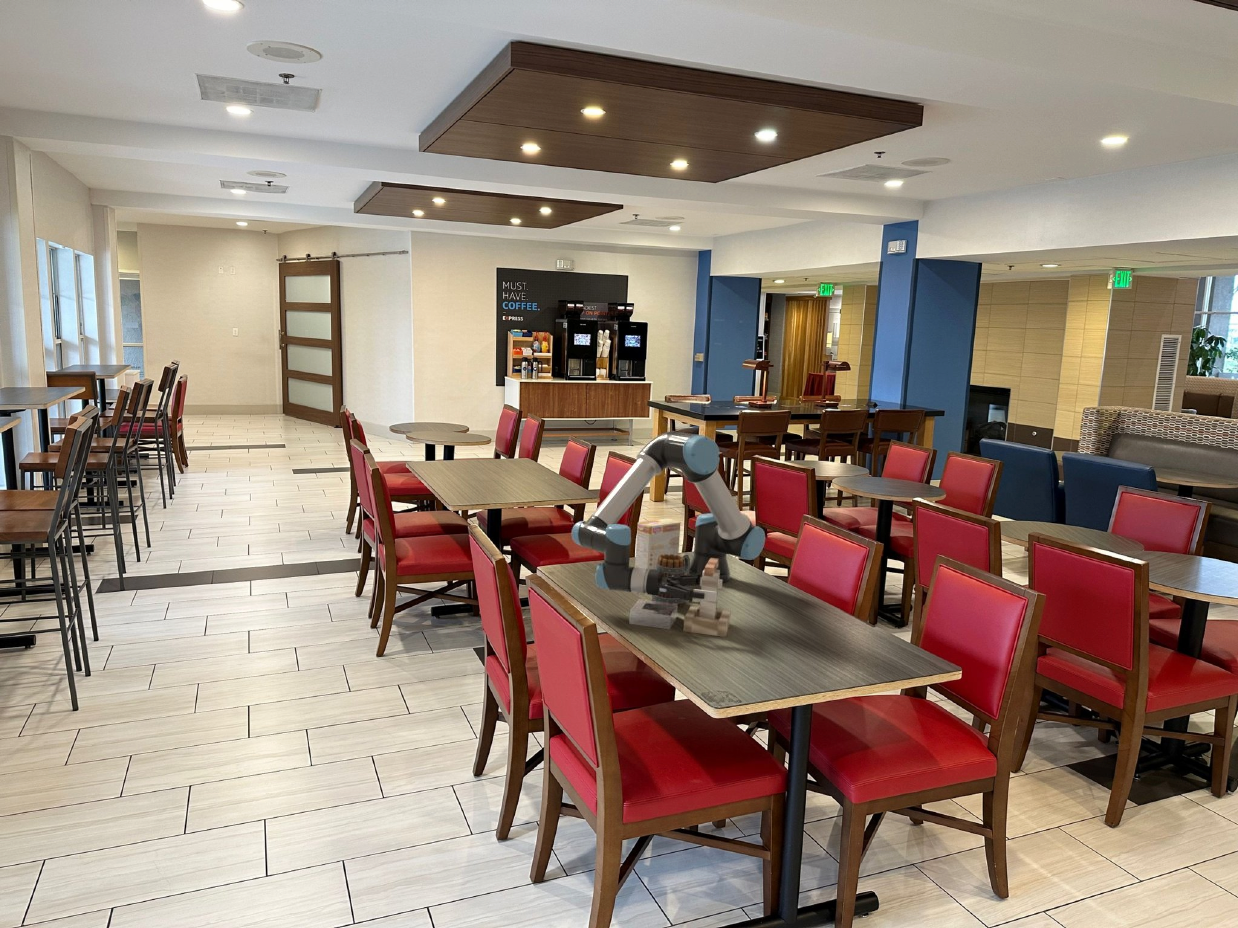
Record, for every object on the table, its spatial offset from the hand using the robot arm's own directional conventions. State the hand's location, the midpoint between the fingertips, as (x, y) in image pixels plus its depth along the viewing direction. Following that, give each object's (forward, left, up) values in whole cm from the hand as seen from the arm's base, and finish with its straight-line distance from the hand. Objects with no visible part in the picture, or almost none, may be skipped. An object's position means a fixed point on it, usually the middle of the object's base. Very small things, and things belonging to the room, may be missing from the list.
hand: (719, 590), depth 241 cm
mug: (-21, -17, -12) cm, 29 cm away
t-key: (0, -3, -12) cm, 12 cm away
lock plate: (0, -19, -11) cm, 22 cm away
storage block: (0, -3, -11) cm, 12 cm away
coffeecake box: (-49, -28, -12) cm, 58 cm away
